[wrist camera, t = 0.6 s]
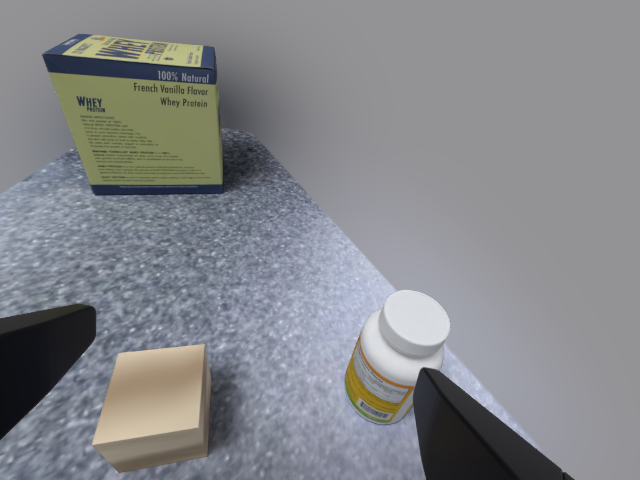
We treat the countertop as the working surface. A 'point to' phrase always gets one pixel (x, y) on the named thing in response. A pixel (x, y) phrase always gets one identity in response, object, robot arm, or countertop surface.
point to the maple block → (156, 408)
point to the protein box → (141, 113)
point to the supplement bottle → (395, 355)
